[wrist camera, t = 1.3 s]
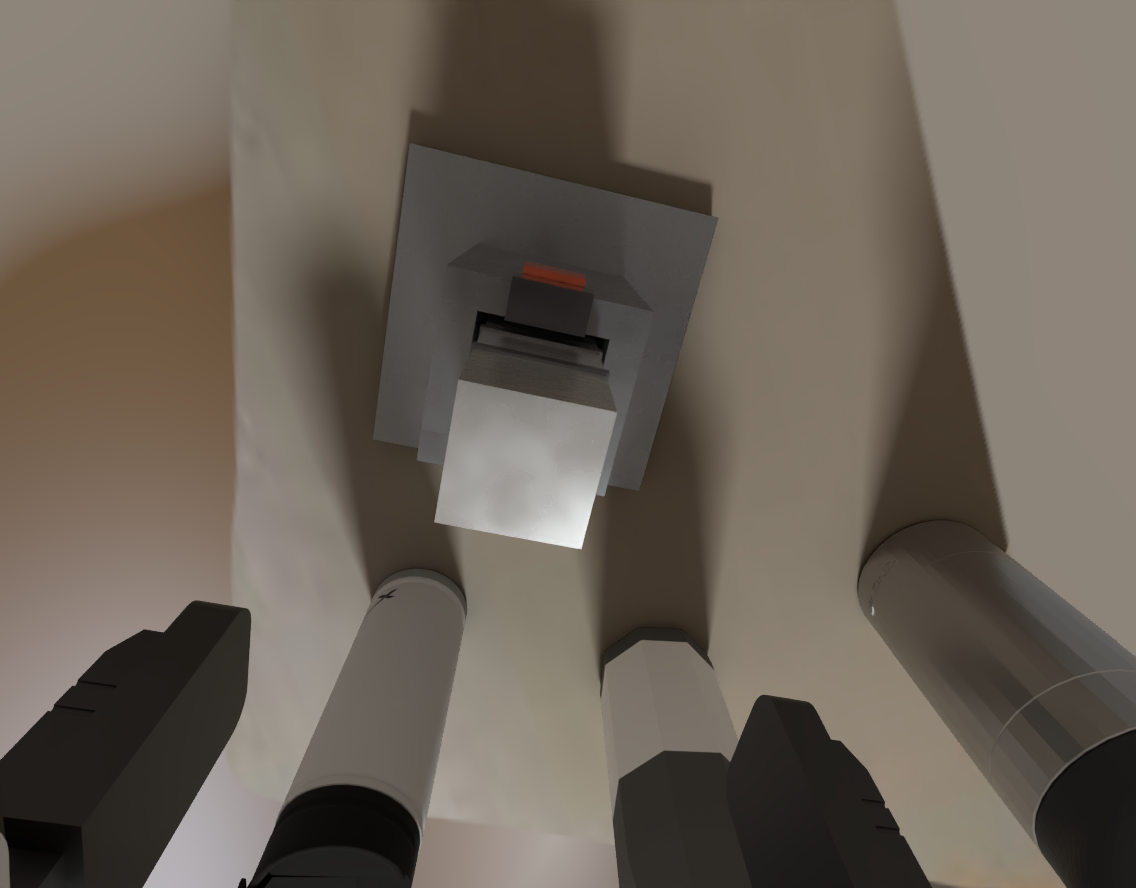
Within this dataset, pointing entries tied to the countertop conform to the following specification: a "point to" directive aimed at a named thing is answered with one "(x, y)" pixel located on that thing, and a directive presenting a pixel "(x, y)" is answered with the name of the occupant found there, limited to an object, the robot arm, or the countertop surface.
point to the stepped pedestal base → (534, 292)
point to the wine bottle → (669, 764)
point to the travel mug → (373, 747)
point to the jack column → (527, 435)
